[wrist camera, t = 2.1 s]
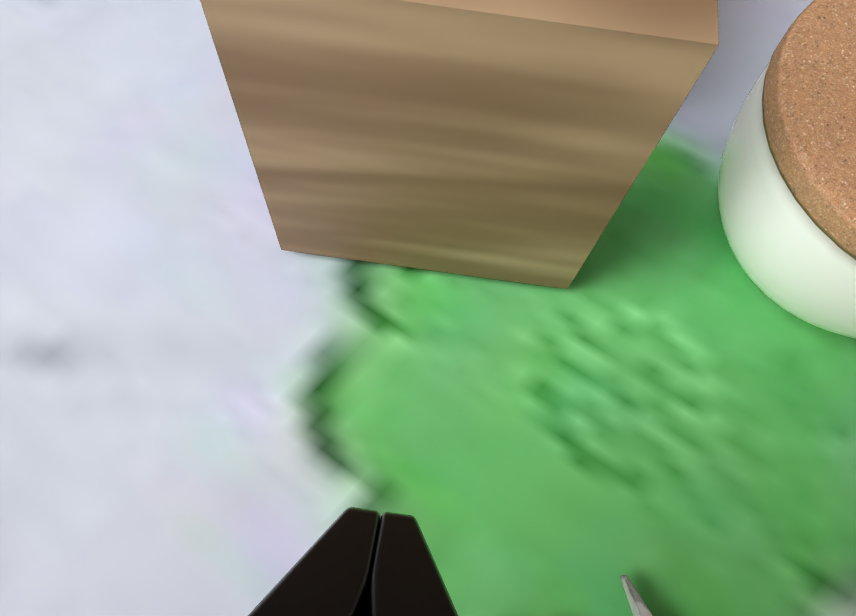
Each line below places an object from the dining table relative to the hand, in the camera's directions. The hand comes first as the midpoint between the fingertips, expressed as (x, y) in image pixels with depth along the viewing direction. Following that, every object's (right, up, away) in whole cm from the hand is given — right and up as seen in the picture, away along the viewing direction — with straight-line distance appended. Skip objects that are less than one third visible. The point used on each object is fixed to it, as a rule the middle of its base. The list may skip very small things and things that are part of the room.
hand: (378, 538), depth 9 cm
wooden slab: (0, +8, +17) cm, 19 cm away
